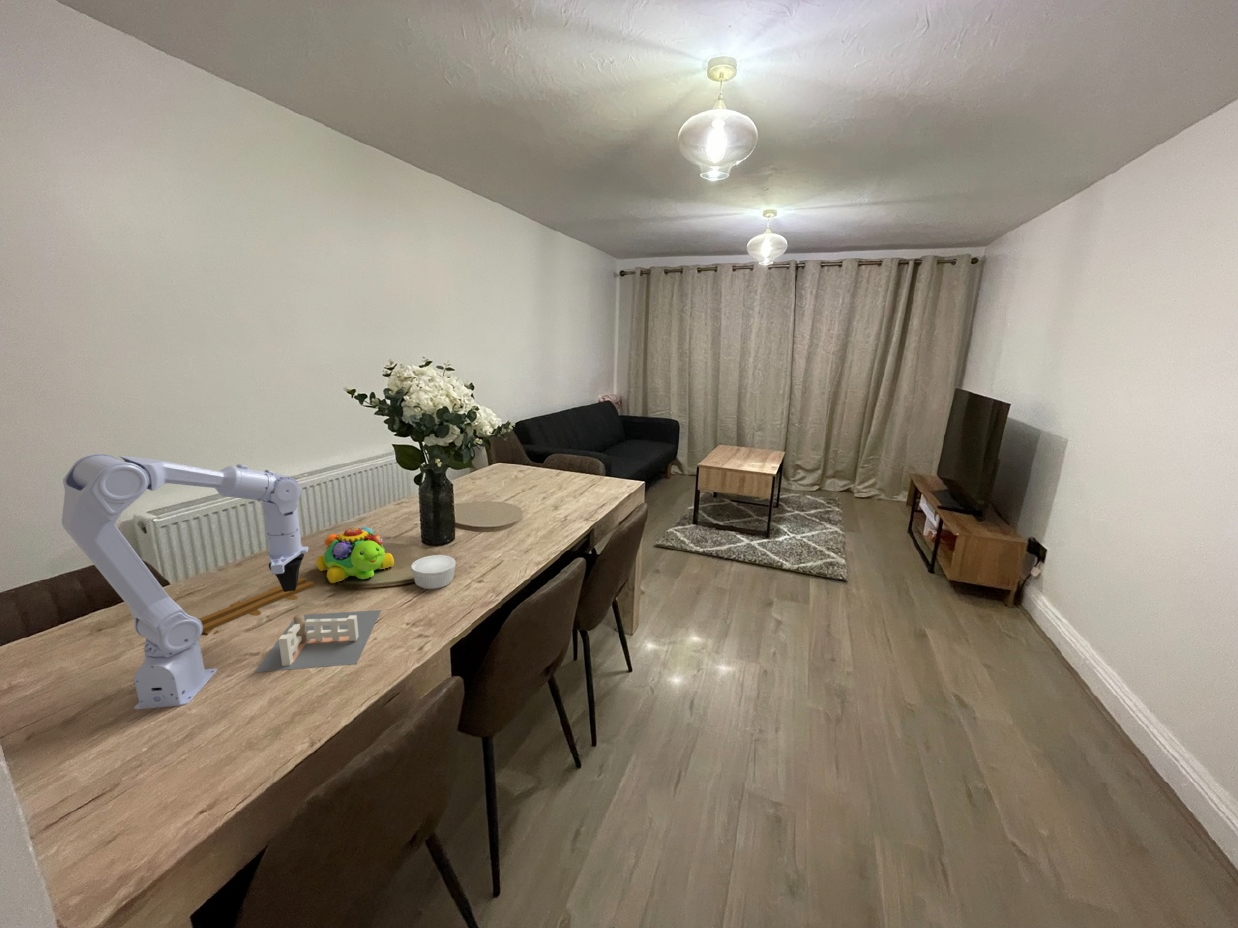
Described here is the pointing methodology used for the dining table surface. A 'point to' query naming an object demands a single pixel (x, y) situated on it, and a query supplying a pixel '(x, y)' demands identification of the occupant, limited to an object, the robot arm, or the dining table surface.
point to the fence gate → (333, 628)
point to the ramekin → (433, 571)
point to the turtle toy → (353, 555)
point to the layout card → (325, 645)
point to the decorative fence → (250, 606)
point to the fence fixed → (292, 640)
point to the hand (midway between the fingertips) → (290, 589)
